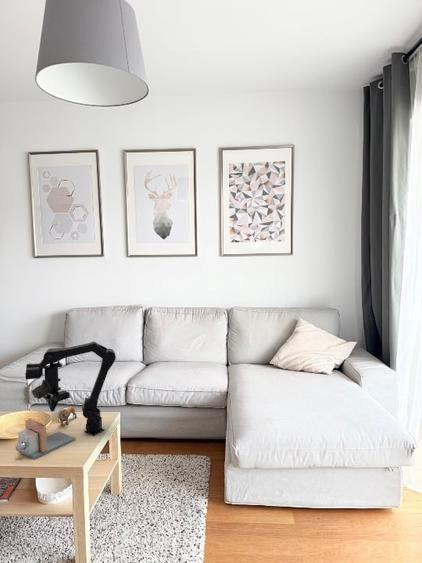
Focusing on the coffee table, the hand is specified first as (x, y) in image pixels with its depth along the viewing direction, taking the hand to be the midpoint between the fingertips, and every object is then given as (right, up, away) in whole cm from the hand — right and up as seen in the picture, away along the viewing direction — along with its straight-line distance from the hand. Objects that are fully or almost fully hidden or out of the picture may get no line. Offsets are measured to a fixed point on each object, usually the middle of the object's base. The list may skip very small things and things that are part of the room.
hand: (52, 411), depth 168 cm
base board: (+1, -13, -7) cm, 14 cm away
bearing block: (-4, -12, -14) cm, 19 cm away
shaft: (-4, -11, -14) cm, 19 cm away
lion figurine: (+1, -11, +16) cm, 20 cm away
